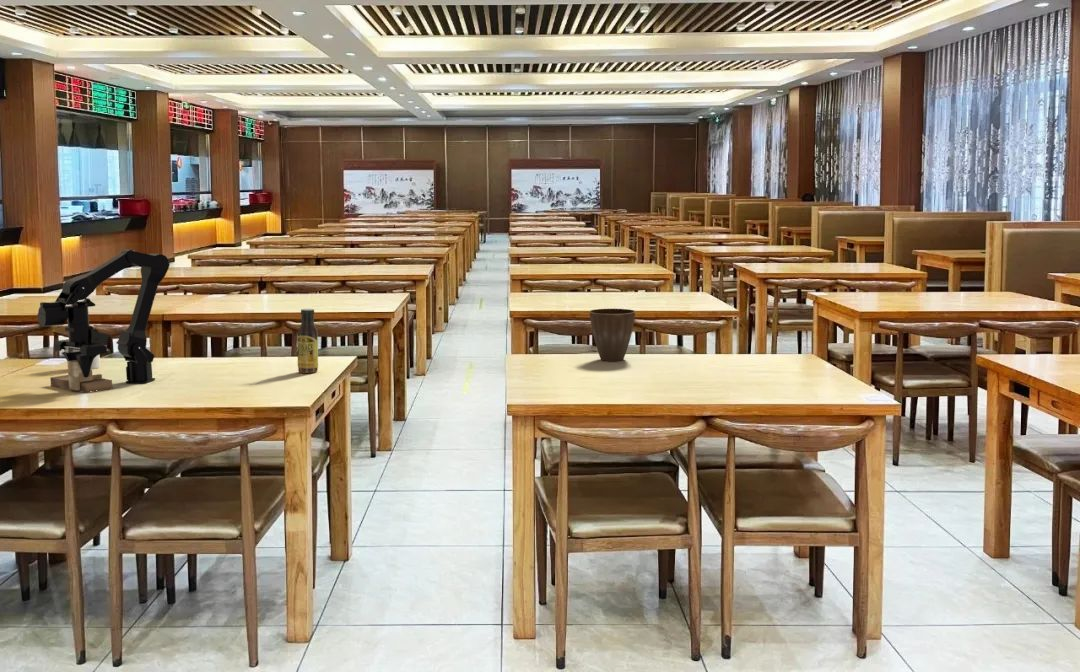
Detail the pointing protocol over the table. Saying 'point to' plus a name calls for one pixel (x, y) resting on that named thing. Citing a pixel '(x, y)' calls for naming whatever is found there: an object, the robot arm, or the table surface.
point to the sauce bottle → (307, 343)
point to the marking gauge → (78, 375)
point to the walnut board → (82, 383)
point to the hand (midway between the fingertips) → (82, 376)
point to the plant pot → (612, 332)
